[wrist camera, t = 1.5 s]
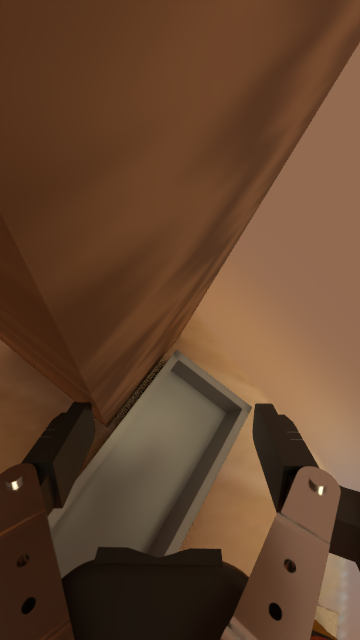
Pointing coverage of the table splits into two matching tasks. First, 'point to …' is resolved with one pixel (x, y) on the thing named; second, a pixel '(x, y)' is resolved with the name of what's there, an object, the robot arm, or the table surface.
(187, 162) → the walnut stand
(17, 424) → the table surface
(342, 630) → the table surface
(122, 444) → the charcoal crate
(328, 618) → the condiment
